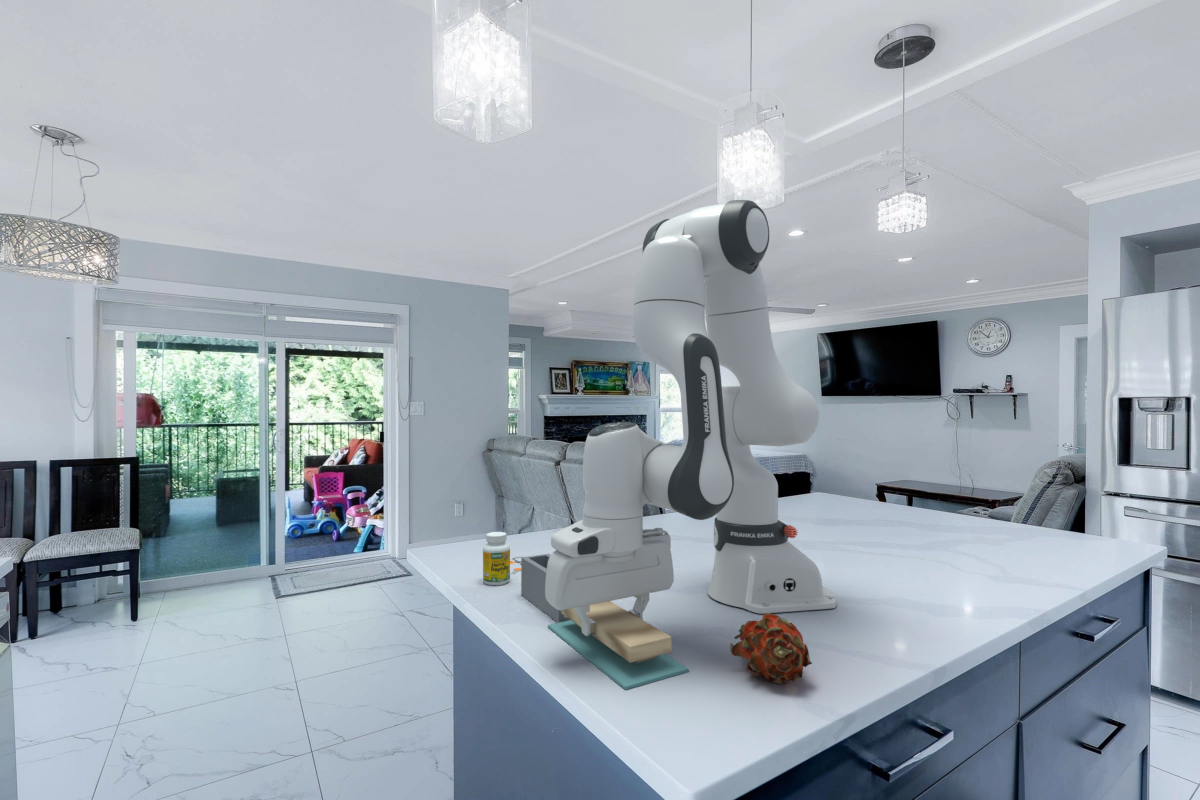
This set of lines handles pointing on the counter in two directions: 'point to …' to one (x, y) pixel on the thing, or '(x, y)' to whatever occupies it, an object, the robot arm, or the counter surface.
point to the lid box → (538, 585)
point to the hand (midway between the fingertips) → (612, 628)
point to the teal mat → (617, 658)
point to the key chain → (516, 568)
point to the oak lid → (625, 632)
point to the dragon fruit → (772, 649)
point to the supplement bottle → (496, 559)
